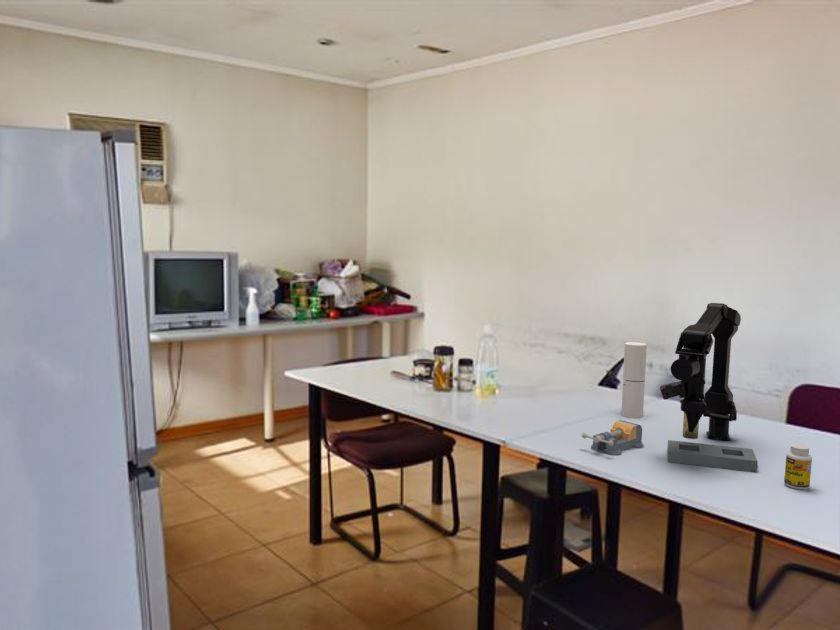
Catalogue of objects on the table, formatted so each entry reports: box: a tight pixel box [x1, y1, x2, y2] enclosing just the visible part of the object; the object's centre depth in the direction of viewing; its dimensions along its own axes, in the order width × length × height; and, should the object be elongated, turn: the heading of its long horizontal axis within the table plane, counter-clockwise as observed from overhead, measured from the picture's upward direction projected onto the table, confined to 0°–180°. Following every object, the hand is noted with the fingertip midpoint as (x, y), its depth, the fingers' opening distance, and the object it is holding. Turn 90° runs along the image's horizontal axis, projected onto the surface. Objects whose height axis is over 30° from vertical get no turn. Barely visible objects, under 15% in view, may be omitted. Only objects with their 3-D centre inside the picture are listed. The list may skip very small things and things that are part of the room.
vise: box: [581, 419, 645, 456], centre depth 195 cm, size 18×10×7 cm, turn 129°
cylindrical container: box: [620, 341, 648, 419], centre depth 231 cm, size 7×7×25 cm
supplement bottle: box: [783, 443, 813, 490], centre depth 166 cm, size 6×6×10 cm
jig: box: [666, 439, 759, 473], centre depth 185 cm, size 11×22×3 cm, turn 71°
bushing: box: [682, 412, 700, 440], centre depth 186 cm, size 4×4×8 cm
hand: (690, 429), depth 186 cm, fingers closed on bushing, 4 cm apart
